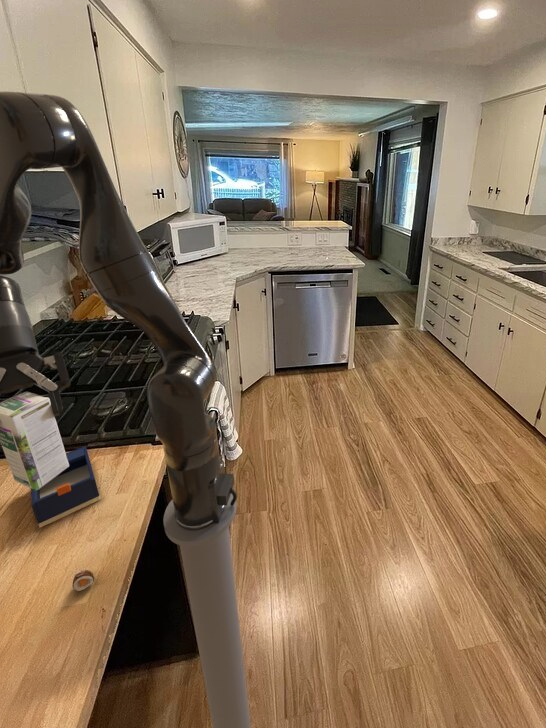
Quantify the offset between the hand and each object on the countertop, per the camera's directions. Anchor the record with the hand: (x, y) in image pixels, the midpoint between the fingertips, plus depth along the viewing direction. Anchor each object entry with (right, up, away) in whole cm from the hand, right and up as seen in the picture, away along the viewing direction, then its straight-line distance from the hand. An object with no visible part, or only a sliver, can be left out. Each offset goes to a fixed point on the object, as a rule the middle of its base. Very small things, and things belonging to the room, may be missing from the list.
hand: (25, 424), depth 56 cm
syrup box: (-1, -10, +5) cm, 11 cm away
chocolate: (+8, -27, +2) cm, 28 cm away
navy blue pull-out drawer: (-7, -20, +18) cm, 28 cm away
